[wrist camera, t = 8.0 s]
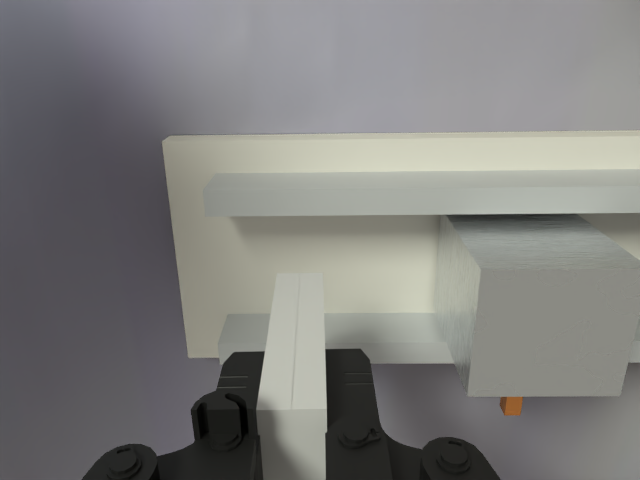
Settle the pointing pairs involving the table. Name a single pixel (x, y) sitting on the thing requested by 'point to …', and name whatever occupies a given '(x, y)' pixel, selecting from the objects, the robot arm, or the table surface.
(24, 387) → the table surface
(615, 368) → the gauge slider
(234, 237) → the base
